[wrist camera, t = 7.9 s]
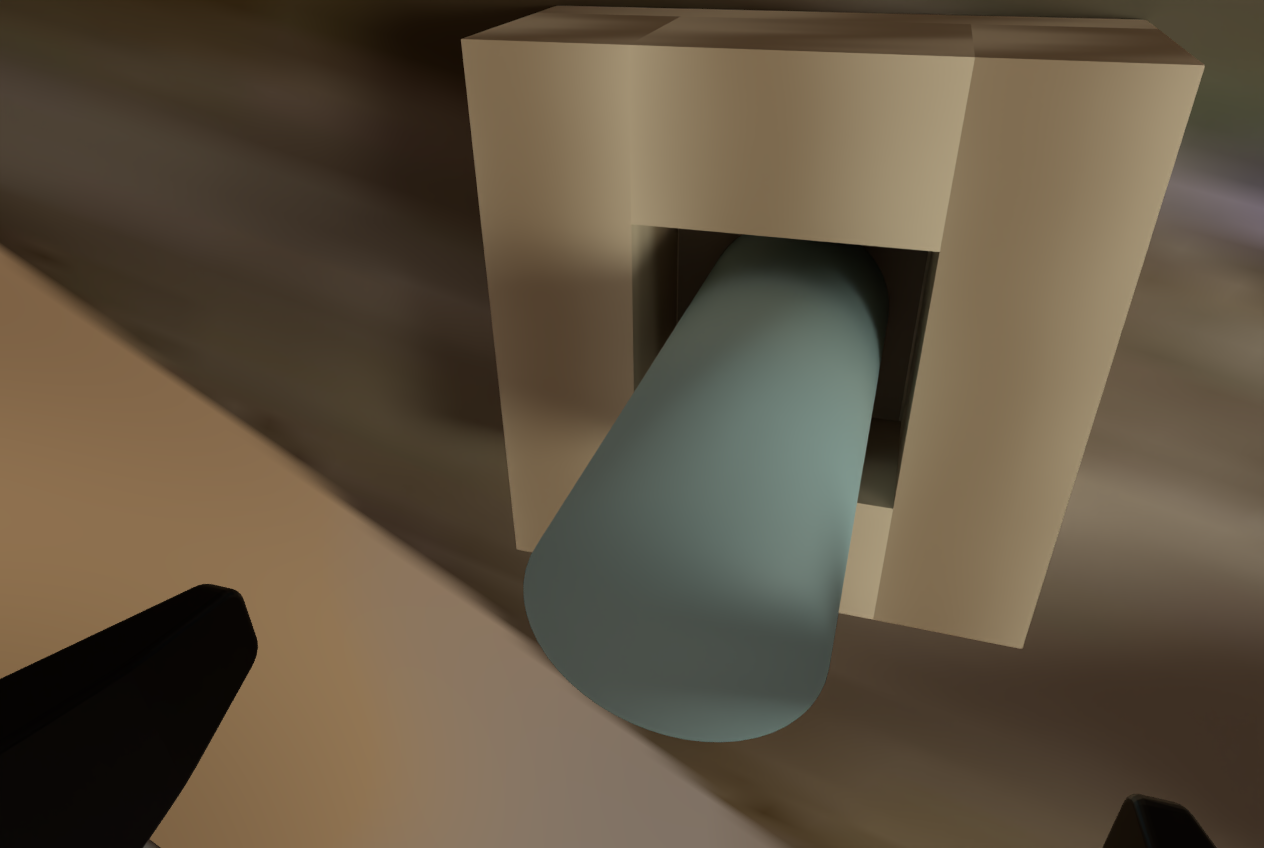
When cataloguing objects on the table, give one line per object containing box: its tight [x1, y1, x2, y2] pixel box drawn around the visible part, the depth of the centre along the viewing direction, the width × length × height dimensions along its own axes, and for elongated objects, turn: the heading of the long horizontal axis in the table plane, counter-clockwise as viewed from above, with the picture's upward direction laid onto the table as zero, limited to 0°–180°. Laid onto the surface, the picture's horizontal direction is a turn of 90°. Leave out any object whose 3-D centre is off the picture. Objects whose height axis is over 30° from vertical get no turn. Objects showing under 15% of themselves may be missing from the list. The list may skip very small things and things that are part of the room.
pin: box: [524, 234, 889, 742], centre depth 13 cm, size 4×4×9 cm
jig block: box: [461, 6, 1205, 649], centre depth 16 cm, size 10×10×4 cm
